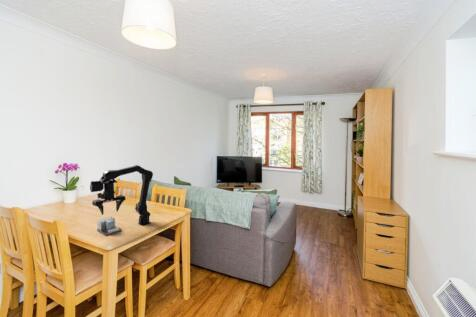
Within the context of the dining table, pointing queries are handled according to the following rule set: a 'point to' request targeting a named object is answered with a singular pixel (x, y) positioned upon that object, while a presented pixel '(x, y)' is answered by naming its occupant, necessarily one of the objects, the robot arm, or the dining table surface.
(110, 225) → the grey round-ended capsule
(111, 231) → the motor mount
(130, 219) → the dining table surface
